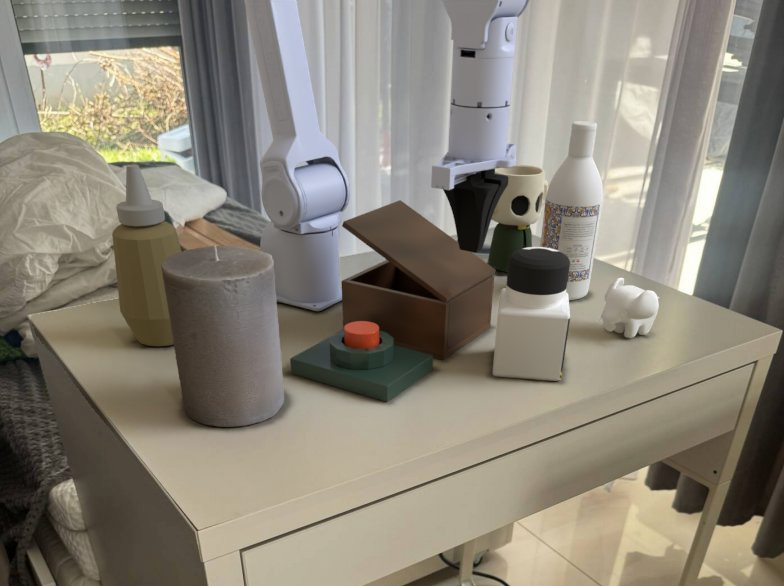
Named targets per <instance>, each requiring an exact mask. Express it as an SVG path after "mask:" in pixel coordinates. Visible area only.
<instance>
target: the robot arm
mask: <svg viewBox="0 0 784 586" xmlns="http://www.w3.org/2000/svg"><path fill="white" fill-rule="evenodd" d="M243 1H244V6H245V11H246V15H247V20H248V25H249V30H250V35H251V39H252V45H253V49H254V54H255V58H256V65H257V67H258V68H257V69H258V73H259V78H260V82H261V83H260V84H261V88H262V92H263V97H264V102H265V106H266V107H265V108H266V111H267V116H268V120H269V126H270V130H271V135H272V142H271V144H270V145H269V147H268V148H267V150H266V151H265V152H264V154H263V156H262V158H261V159H260V161H259V168H260V172H261V181H262V182H261V189H260V190H261V192H260V193H261V202H262V206H263V209H264V212H265V214H266V215H267V217H268V219H269V220H270V222H268V223H267V224H266V225H265V226H264V228H263V230H262V233H261V236H260V245H259V247H260V250H259V251H262V252H263V253H268V254H270V255H271V256H273V257H272V259H273V261H274V262H273V263H274V265H273V267H274V276H275V291H276V300H277V303H283V304H286V305H290V306H294V307H297V308H298V307H299V308H303V309H306V310H310V311H314V312H320V311H323V310H325V309H327V308H329V307H331V306H333V305H335V304H337V303H339V302H342V286H341V273H340V271H341V270H340V245H339V244H340V243H339V223H341V222H342V213H343V212H344V211H345V210H346V209H347V207H348V206H349V204H350V203H349V202H350V199H351V186H350V182H349V178H348V176H347V173H346V172H345V170H344V168H343V166H342V164H341V161H340V157H339V152H338V148H337V146H336V145H334V143H333V142H332V141H331V140H329V139H328V138H327V137H326V136H325V135H324V134H323V133H322V132H321V128H320V123H319V118H318V113H317V106H316V101H315V95H314V90H313V84H312V79H311V74H310V68H309V63H308V57H307V52H306V51H307V50H306V47H305V40H304V34H303V30H302V24H301V19H300V13H299V7H298V2H297V0H243ZM441 1H442V2H443V6H444V9H445V11H446V14H447V15H448V17H449V20H450V25H451V32H450V34H451V36H450V40H451V41H453V43H452V44H453V45H452V63H451V64H452V66H451V88H450V108H449V109H450V110H449V127H448V129H449V130H448V149H447V152H446V153H445V154H444V156H443V157H441V159H440V161H438V162H437V163H436V164H433V165H432V166H431V179H430V180H431V183H430V188H431V189H439V190H443V192H444V195H445V196H446V198H447V201H448V203H449V206H450V210H451V212H452V217H453V220H454V225H455V231H456V236H457V237H456V238H457V242H458V243H459V248H460V250H465V251H470V252H472V253H474V254H476V253H478V252H481V251H482V250H483V247H484V244H485V242H486V238H487V235H488V232H489V228H490V225H491V222H492V220H491V219H492V216H493V213H494V210H495V208H496V206H497V203H498V201H499V199H500V197H501V195H502V194H503V192H504V190H505V189H506V187H507V186H508V179H509V177H508V176H506V175H500V174H495V169H497V168H511V167H513V166H515V165H517V149H518V145H517V144H516V143H508V135H509V126H510V125H509V124H510V123H509V122H510V114H511V113H510V111H511V102H512V101H511V100H512V91H513V90H512V89H513V79H514V67H515V66H514V65H515V55H516V42H517V30H518V19H519V18H520V17H521V16H522V15H523V13H524V12H525V10H526V9H527V7H528V5H529V3H530V0H441ZM304 162H305V163H306V164H305V165H301V166H298V164H301V163H304Z"/></svg>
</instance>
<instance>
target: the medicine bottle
mask: <svg viewBox="0 0 784 586" xmlns="http://www.w3.org/2000/svg"><path fill="white" fill-rule="evenodd" d="M569 267H570V260H569V258H568V257H567V256H566V255H565V254H563V253H561V252H560V251H558V250H555V249H551V248H546V247H540V246H532V247H527V248H523V249H520V250H518V251H515V252H514V253H512V255H511V256H510V257H509V263H508V272H507V275H506V287H504V288H501V290H500V294H499V301H498V309H497V319H496V331H495V343H494V353H493V364H492V375H493V376H494V377H498V378H499V377H501V378H512V379H524V380H537V381H552V382H559V381H561V379H562V376H563V369H564V362H565V356H566V348H567V343H568V337H569V328H570V323H571V322H570V321H571V309H570V300H569V297H568V293H567V292H566V288H567V281H568V274H569Z"/></svg>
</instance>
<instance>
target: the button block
mask: <svg viewBox="0 0 784 586" xmlns="http://www.w3.org/2000/svg"><path fill="white" fill-rule="evenodd" d="M289 362H290V373H291V374H292V375H295V376H299V377H302V378H306V379H309V380H312V381H316V382H318V383H322V384H325V385H328V386H332V387H336V388H339V389H342V390H345V391H349V392H351V393H356V394H359V395H363V396H365V397H368V398H369V397H370V398H372V399H376V400H379V401H382V402H386V403H388V402H390V401H391V400H392V399H393V398H395V397H397V396H398V395H399V394H401V393H402V392H404V391H405V390H407V389H408V388H409V387H411V386H413V385H414V384H415V383H416V382H418V381H419V380H421V379H423V378H424V377H425V376H426V375H428V374H429V373H430V372H432V371H433V370H434V358H433V355H430V354H426V353H422V352H418V351H415V350H411V349H407V348H403V347H399V346H395V345H394V338H393V337H392V336H390V335H389V334H388V333H386V332H383V331H379V345H378V346H376V347H372V348H367V349H361V348H352V347H348V346H345V343H344V331H343V330H341V331H338V332H336V333H335V334H333V335H331V336H328V337H327V338H324V340H322V341H320V342H318V343H315V344H314V345H312V346H311V347H309V348H307V349H305V350H303V351H301V352H299V353H298V354H296V355H294V356H292V357H291V358H290V359H289Z"/></svg>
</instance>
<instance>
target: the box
mask: <svg viewBox="0 0 784 586" xmlns="http://www.w3.org/2000/svg"><path fill="white" fill-rule="evenodd" d="M340 283H341V287H342V300H341V307H342V331H344V327H345V325H346V324H348V323H351V322H356V321H368V322H372V323H375V324H377V325H378V326H379V331H383V332H386V333H388V334H389V335H390V336H392V337H393V338H394V345H395V346H399V347H403V348H407V349H411V350H415V351H418V352H422V353H426V354H430V355H433V359H437V360H441V361H445V360H446V359H448V358H449V357H450V356H452V355H453V354H454V353H456V352H458V351H459V350H460V349H462V348H464V347H465V346H466V345H467V344H469V343H471V342H472V341H473V340H475V339H476V338H478V337H479V336H480V335H482V334H483V333H485V332H486V331H488V330H489V329H491V324H492V323H491V322H492V312H493V311H492V310H493V299H494V289H495V288H494V287H495V274H494V275H492V276H490V277H488V278H487V279H485V280H483V281H482V282H480V283H478V284H477V285H475V286H473V287H472V288H470V289H468V290H467V291H465V292H463V293H462V294H460V295H458V296H457V297H455V298H453V299H452V300H450V301H448V302H447V303H444V302H443V301H441V300H440V299H439V298H437V297H436V296H435V295H433V294H432V293H431V292H429V291H428V290H427V289H425V288H424V287H423V286H421V285H420V284H419V283H417V282H416V281H415V280H413V279H412V278H411V277H409V276H408V275H407V274H405V273H404V272H403V271H401V270H400V269H399V268H397V267H396V266H395V265H393V264H392V263H390V262H389V261H388V260H386V259H385V260H383V261H381V262H379V263H376V264H375V265H373V266H370V267H367V268H366V269H364V270H362V271H359V272H357V273H355V274H353V275H351V276H349V277H347V278H344V279H342V280H340Z"/></svg>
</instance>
